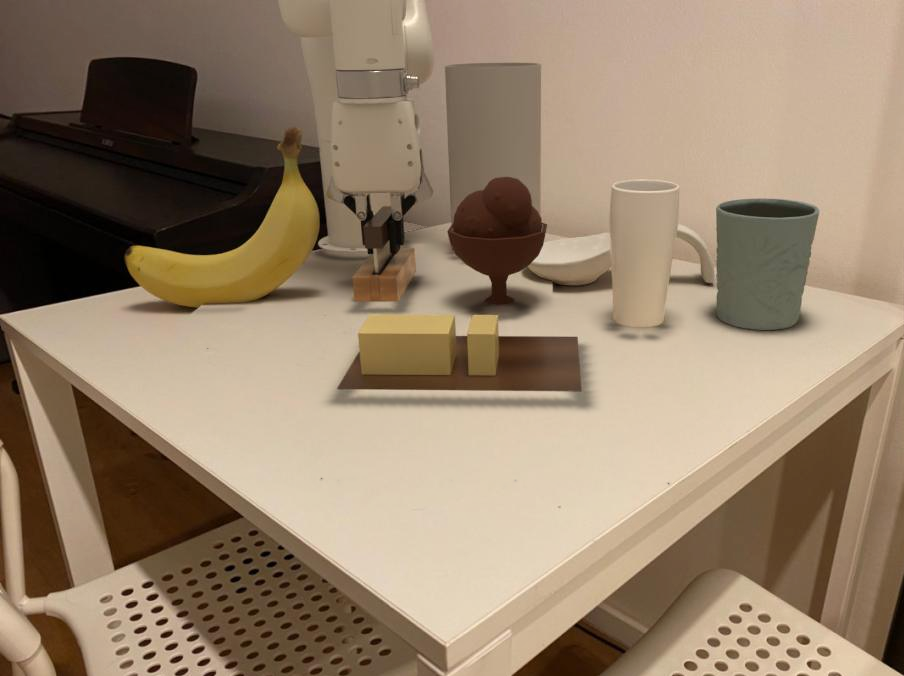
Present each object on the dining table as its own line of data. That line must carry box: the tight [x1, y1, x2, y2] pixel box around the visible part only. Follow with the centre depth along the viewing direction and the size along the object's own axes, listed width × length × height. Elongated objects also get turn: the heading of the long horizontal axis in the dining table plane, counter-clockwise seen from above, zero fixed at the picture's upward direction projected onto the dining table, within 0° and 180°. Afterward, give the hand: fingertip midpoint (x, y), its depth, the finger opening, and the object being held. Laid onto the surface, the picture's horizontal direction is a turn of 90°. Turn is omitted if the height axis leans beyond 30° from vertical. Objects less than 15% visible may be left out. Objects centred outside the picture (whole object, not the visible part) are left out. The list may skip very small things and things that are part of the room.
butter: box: [357, 313, 457, 375], centre depth 73 cm, size 5×8×4 cm, turn 87°
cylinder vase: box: [444, 62, 542, 250], centre depth 109 cm, size 12×12×25 cm
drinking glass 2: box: [608, 179, 681, 328], centre depth 82 cm, size 7×7×15 cm
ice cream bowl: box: [446, 177, 548, 306], centre depth 88 cm, size 11×11×15 cm
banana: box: [124, 126, 321, 309], centre depth 90 cm, size 23×6×20 cm, turn 91°
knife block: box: [351, 247, 417, 302], centre depth 97 cm, size 13×5×4 cm, turn 176°
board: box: [336, 335, 583, 393], centre depth 74 cm, size 13×21×1 cm, turn 87°
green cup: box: [715, 198, 820, 331], centre depth 85 cm, size 10×10×12 cm
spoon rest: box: [527, 223, 715, 286], centre depth 100 cm, size 24×12×7 cm, turn 85°
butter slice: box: [466, 314, 500, 376], centre depth 72 cm, size 5×2×4 cm, turn 177°
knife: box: [363, 206, 395, 275], centre depth 95 cm, size 11×2×8 cm, turn 176°
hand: (384, 250), depth 95 cm, fingers closed on knife, 2 cm apart
